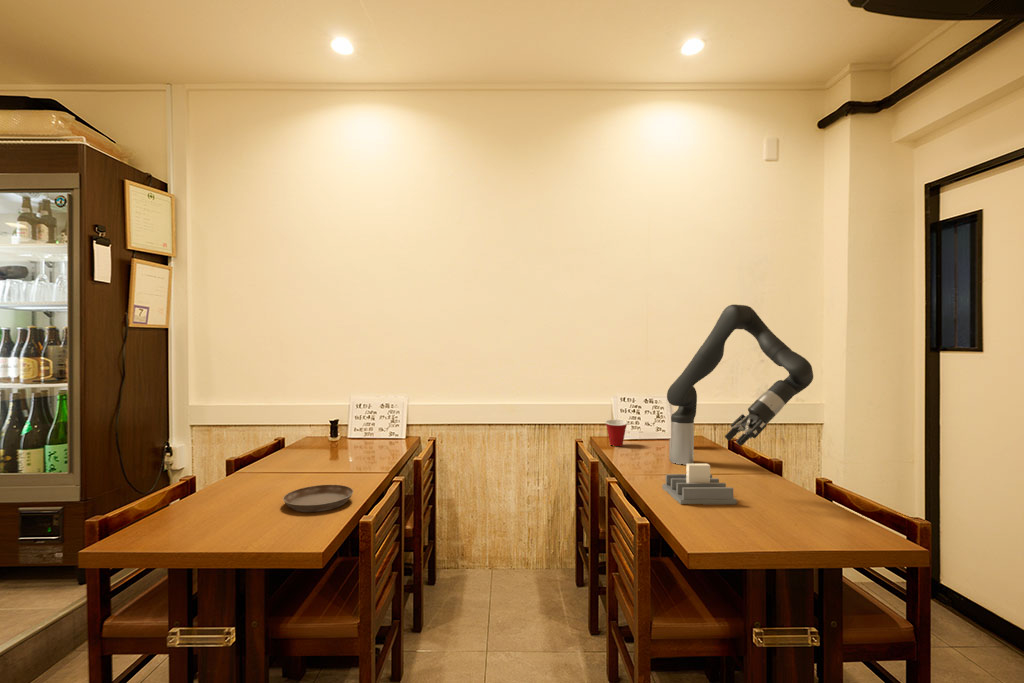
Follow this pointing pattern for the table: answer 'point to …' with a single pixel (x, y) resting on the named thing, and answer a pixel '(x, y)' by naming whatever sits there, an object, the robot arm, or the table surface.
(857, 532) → the table surface
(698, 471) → the tall cream block
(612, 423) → the plastic cup
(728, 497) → the dish rack
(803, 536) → the table surface
